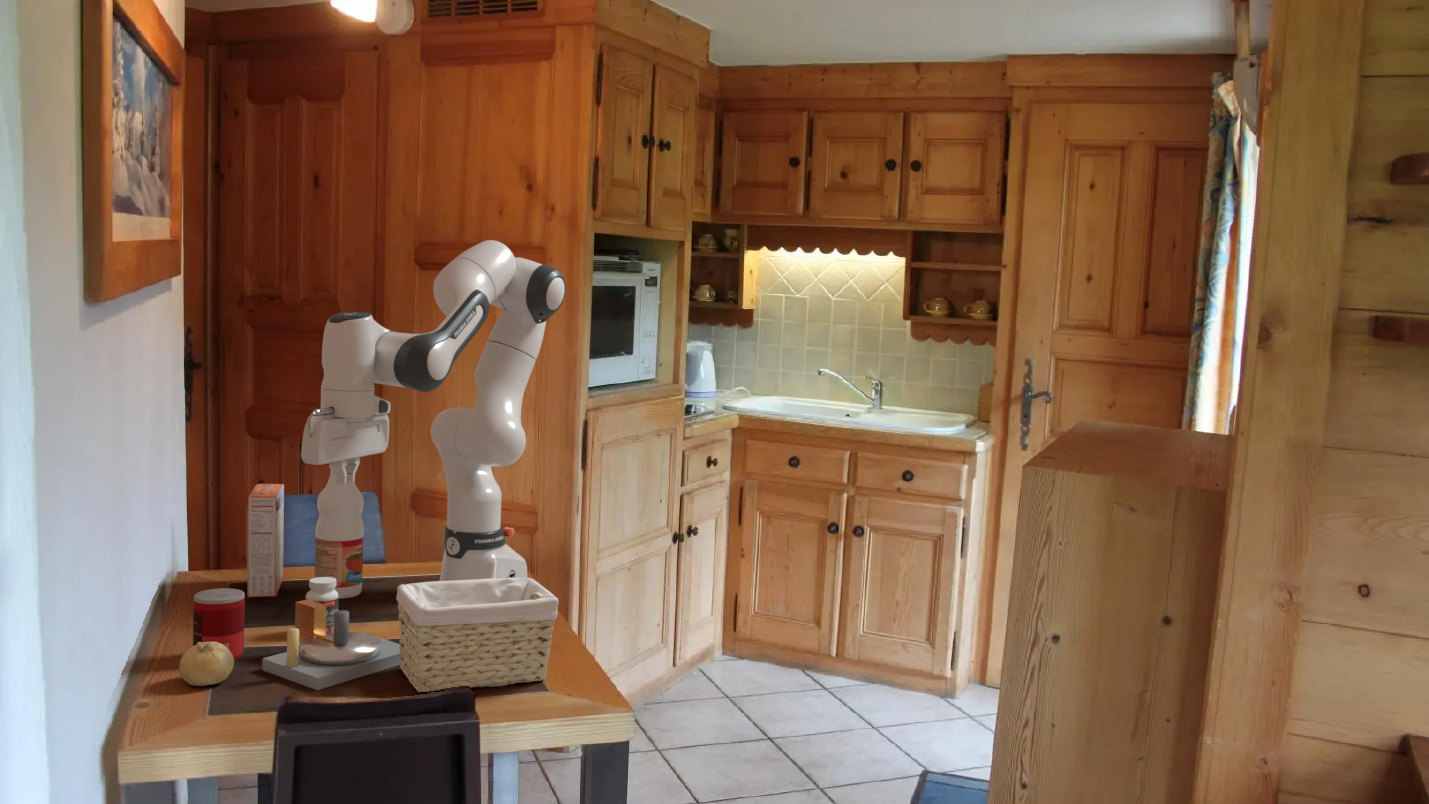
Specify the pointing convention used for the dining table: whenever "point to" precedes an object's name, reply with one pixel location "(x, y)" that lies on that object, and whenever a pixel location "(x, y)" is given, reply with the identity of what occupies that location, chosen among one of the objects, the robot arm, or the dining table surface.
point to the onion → (206, 664)
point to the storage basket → (475, 632)
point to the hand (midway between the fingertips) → (345, 483)
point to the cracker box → (265, 540)
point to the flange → (330, 639)
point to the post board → (328, 675)
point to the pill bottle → (325, 597)
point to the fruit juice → (340, 536)
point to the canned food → (220, 618)
